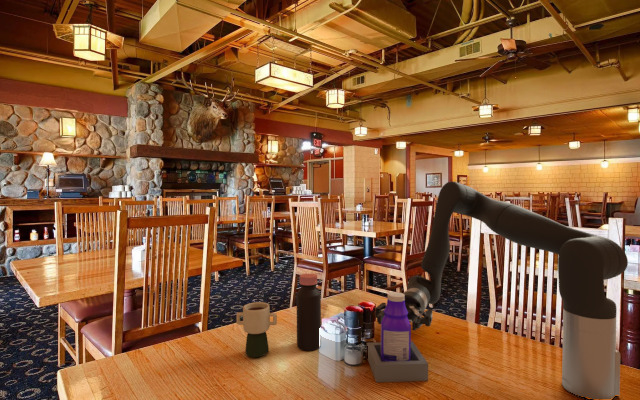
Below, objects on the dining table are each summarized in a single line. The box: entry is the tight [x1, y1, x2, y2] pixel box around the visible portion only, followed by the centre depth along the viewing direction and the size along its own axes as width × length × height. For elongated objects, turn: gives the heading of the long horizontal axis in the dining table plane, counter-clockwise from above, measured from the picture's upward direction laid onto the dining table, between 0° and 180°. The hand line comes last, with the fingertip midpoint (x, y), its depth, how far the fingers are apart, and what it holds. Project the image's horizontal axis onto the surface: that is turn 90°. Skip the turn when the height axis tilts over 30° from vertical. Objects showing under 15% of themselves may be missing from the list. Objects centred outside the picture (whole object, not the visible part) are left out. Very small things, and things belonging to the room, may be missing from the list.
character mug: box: [236, 301, 278, 358], centre depth 98 cm, size 11×7×13 cm, turn 86°
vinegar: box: [295, 273, 322, 352], centre depth 102 cm, size 7×7×20 cm
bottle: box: [380, 291, 412, 362], centre depth 89 cm, size 7×6×17 cm
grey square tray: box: [366, 340, 429, 383], centre depth 89 cm, size 12×12×4 cm
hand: (396, 323), depth 90 cm, fingers open, 8 cm apart
